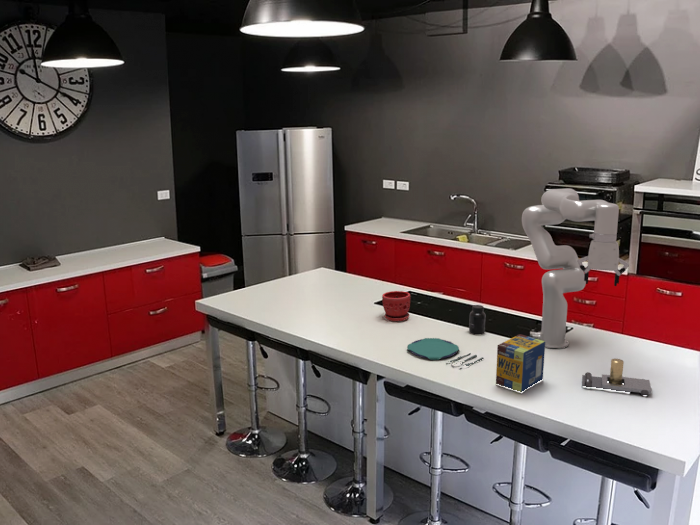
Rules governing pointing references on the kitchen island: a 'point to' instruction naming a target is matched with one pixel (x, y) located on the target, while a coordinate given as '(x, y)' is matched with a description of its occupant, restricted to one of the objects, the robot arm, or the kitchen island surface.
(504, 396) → the kitchen island surface
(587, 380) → the hinged hasp latch
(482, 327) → the supplement bottle
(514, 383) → the protein box
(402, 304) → the plant pot
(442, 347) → the cutlery set
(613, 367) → the brass pin
